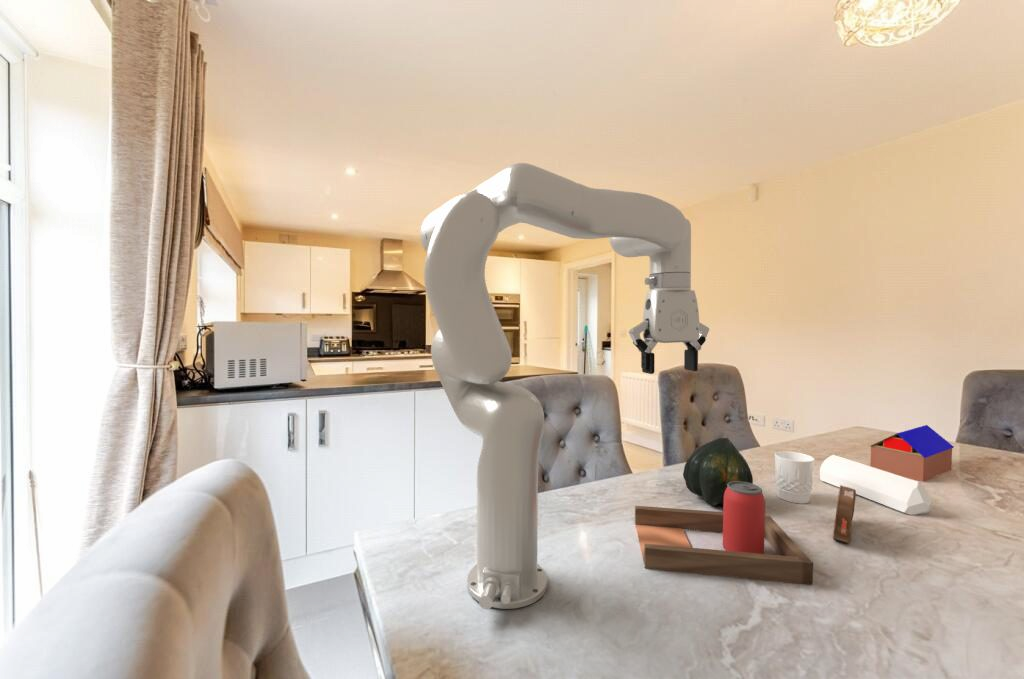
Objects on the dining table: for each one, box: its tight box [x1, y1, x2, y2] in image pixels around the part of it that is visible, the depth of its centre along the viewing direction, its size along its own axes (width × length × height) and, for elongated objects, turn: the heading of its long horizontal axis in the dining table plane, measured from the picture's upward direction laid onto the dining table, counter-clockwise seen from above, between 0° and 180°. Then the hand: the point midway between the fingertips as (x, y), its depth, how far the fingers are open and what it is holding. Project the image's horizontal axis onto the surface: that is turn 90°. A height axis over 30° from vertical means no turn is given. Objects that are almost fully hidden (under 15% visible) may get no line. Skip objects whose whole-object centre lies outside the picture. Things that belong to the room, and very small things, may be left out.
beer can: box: [722, 481, 766, 554], centre depth 78 cm, size 7×7×12 cm
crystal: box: [819, 454, 933, 516], centre depth 104 cm, size 7×7×24 cm
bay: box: [634, 505, 814, 586], centre depth 79 cm, size 17×26×4 cm, turn 80°
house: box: [869, 424, 955, 483], centre depth 123 cm, size 12×20×12 cm, turn 119°
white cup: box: [774, 450, 816, 505], centre depth 102 cm, size 8×8×10 cm
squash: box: [682, 437, 754, 507], centre depth 101 cm, size 14×15×15 cm
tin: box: [832, 485, 857, 544], centre depth 85 cm, size 15×3×8 cm, turn 141°
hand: (669, 371), depth 85 cm, fingers open, 9 cm apart
